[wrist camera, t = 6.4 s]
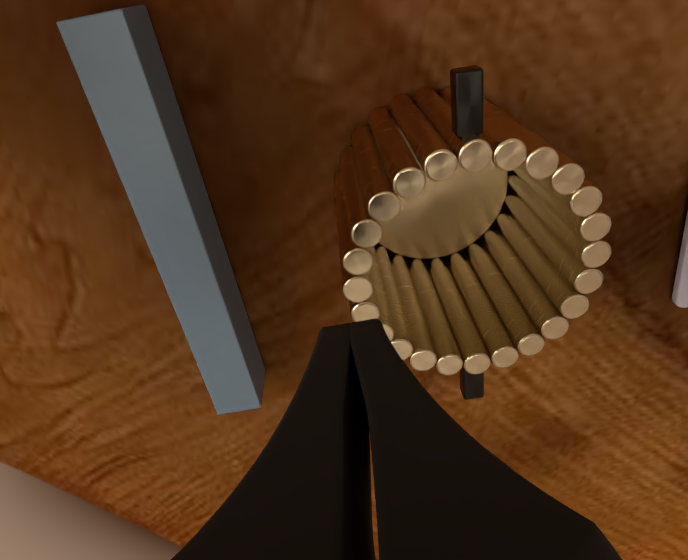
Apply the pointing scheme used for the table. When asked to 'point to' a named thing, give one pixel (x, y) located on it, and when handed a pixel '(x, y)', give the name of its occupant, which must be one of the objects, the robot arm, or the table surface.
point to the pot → (464, 231)
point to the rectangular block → (167, 195)
